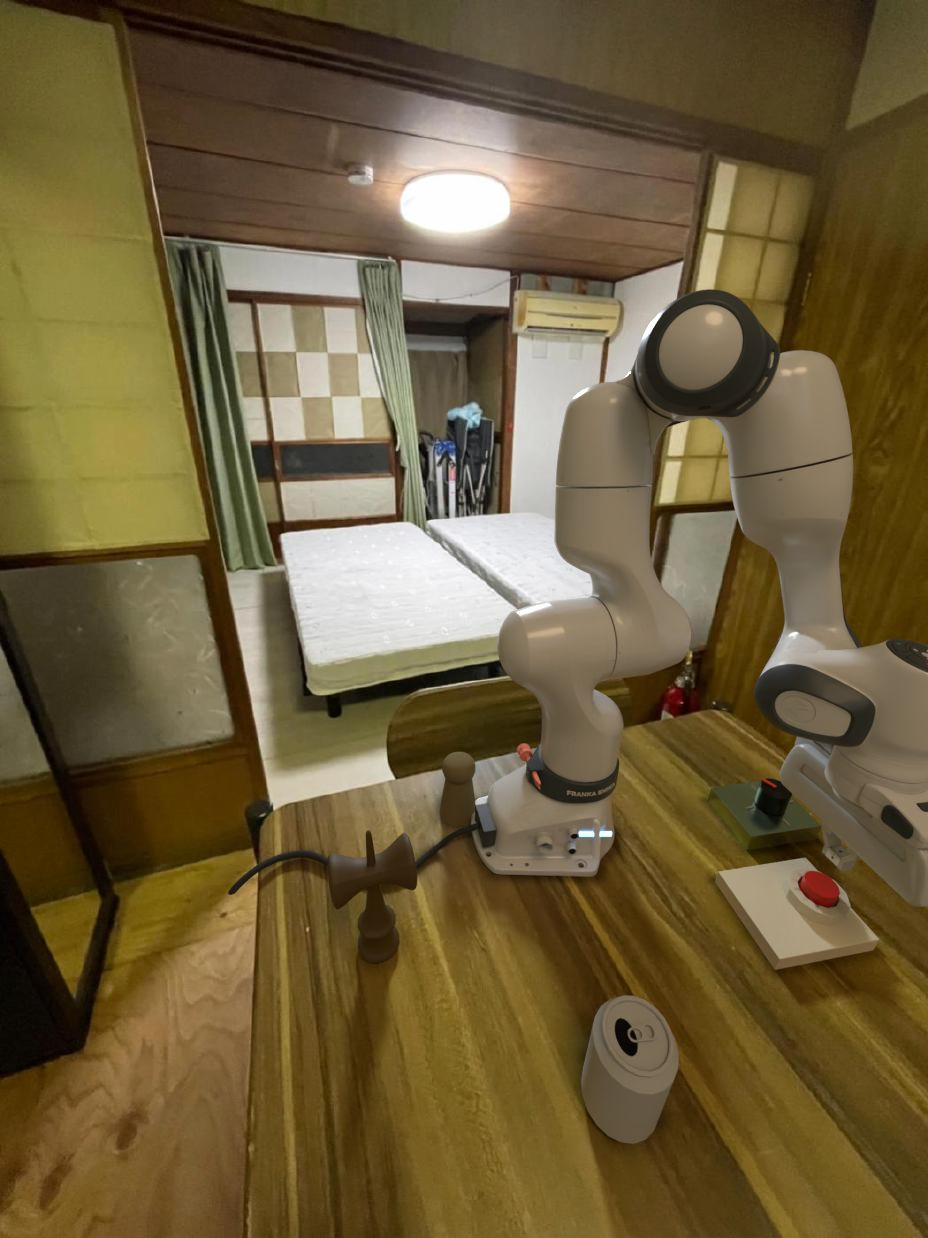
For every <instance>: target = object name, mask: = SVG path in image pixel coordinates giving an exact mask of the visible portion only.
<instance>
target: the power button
mask: <svg viewBox="0 0 928 1238" xmlns="http://www.w3.org/2000/svg"><path fill="white" fill-rule="evenodd" d="M817 871H818V870H817ZM817 871H808V872H806V873H805V874H804V876H803V878H802V881H801V883H800V888H801V891H802V893H803V894H804V895H805V896H806V897H807V898H808V899H809V900H810V901H812V902H813V903H815V904H817V905H819V906H823V907H831V906H833V905H834V904H835V902H836V900H837V899H838V897H839V894H840V890H839V887H838V886H837V884H838V883H837V884H836V883H835V882H834V881H835V880H834V879H833V878H831V877H830V876H829V875H827V874H825V873H823V872H821V871H820V872H817ZM832 879H833V880H834V881H833V880H832Z"/></svg>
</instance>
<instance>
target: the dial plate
mask: <svg viewBox="0 0 928 1238" xmlns="http://www.w3.org/2000/svg"><path fill="white" fill-rule="evenodd" d="M760 782H761V780H759V781H750V782H744V783H735V784H729V785H728V784H727V785H720V786H713V787H712V786H711V788H710V790H709V793H708V797H707V802H708V804H709V805H710V806H711V807H712V809H713V810H714V811H715V813H716V814H717V815H718V816H719V818H720V819H721V820H722V821H723V823H724V824H725V825H726V826H727V828H728V830H730V831H731V833H732V834H733V835H734V837H735V838H736V839H737V841H739V843H740V844H741V845H742V846H743V848H744V849H745V850H746V851H751V850H757V849H764V848H768V847H769V848H770V847H777V846H782V845H788V844H789V845H790V844H795V843H802V842H807V841H814V840H816V839H817V838H818V835H819V832H820V830H821V826H822V824H821V823H820V822H819V821H817V820H816V818H815V817H814V816H813V815H812V814H811V813H810V812H809V811H808V810H806V808H804V807H803V806H802V804H800V802H798V800H796V798H795V797H794V796H793V795H792V796H791V799H790V801H789V804H788V806H787V809H786V811H785V813H784V814H782V815H771V814H768V813H766V812H764V811H763V810H761V809H760V808H759V807H758V806H757V805H756V803H755V796H756V793H757V790H758V787H759V785H760Z"/></svg>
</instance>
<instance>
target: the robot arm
mask: <svg viewBox="0 0 928 1238" xmlns="http://www.w3.org/2000/svg"><path fill="white" fill-rule="evenodd" d="M772 353H773V354H772ZM844 393H845V392H844V389H843V385H842V381H841V378H840V375H839V372H838V370H837V367H836V365H835V362H834V361H833V360H832V359H831V358H830V357H829V356H827V355H826V354H824V353H822V352H818V351H814V350H803V349H798V350H788V351H785V352H781V347H780V345H779V342H777V341H776V339H774V337H773V336H772V335H771V334H770V333H769V332H768V330H767V329H766V328H765V327H764V325H762V323H761V322H760V320H759V319H758V317H757V316H756V314H755V313H754V312H753V310H752V309H751V308H750V306H748V305H747V303H746V302H744V301H743V300H742V299H741V298H739V297H738V296H736V295H735V294H732V293H730V292H728V291H725V290H721V289H715V288H713V289H711V288H710V289H700V290H695V291H691V292H689V293H685V294H684V295H682V296H680V297H677V298H676V299H675V300H673V301H671V302H670V303H669V304H666V306H665V307H664V308H662V310H660V311H659V312H658V313H656V315H655V317H654V318H653V319H652V320H651V321H650V323H649V324H648V326H647V328H646V329H645V331H644V333H643V335H642V337H641V340H640V343H639V346H638V350H637V354H636V357H635V360H634V363H633V365H632V367H631V369H630V371H629V372H628V373H627V374H626V375H625V376H624V377H622V378H620V379H618V380H617V379H616V380H615V381H605V382H598V383H596V384H595V383H594V384H593V385H590V386H587V387H585V388H584V389H581V391H579V392H577V393H576V394H575V395H574V396H573V397H572V398H571V400H570V401H569V403H568V405H567V407H566V410H565V414H564V418H563V422H562V427H561V431H560V432H561V433H560V438H559V445H558V451H557V452H558V453H557V459H556V460H557V462H556V471H555V472H556V473H555V495H554V497H555V500H554V503H555V504H554V533H553V534H554V538H553V539H554V541H553V542H554V546H555V549H556V551H557V552H558V555H559V556H560V557H561V558H562V559H563V560H564V561H565V562H566V563H567V564H568V565H570V566H572V567H574V568H576V569H578V570H580V571H582V572H584V573H585V574H589V577H590V580H591V586H592V590H591V595H590V596H588V597H578V598H567V599H556V600H545V601H541V602H536V603H534V604H530V605H527V606H524V607H522V608H518V609H516V610H513V611H511V612H509V613H508V614H507V615H506V617H505V618H504V620H503V622H502V623H501V625H500V628H499V631H498V635H497V642H496V645H497V646H496V647H497V656H498V660H499V662H500V664H501V667H502V669H503V670H504V672H505V673H506V675H507V676H508V677H509V678H510V679H511V680H512V681H513V682H515V684H517V685H518V686H520V687H522V688H524V689H526V690H527V691H528V692H529V693H531V694H532V695H533V696H534V697H535V699H536V700H537V702H538V704H539V706H540V710H541V735H540V736H541V737H540V743H539V744H538V746H537V747H536V749H535V750H534V752H532V750H531V746H530V745H529V744H528V743H520V744H519V745H518V746H517V748H516V752H517V755H519V759H520V760H521V761H522V762H526V763H525V764H523V765H522V766H520V767H518V768H517V769H515V770H513V771H511V772H509V773H508V774H506V775H505V776H503V777H501V778H499V779H497V780H496V781H495V782H493V783H492V785H491V786H490V787H489V791H488V793H487V795H484V796H481V797H478V798H477V799H475V803H476V805H475V812H474V814H472V815H471V822H470V824H468V825H465V826H463V827H461V828H459V829H458V828H457V829H456V830H453V831H452V832H450V833H449V834H447V835H446V836H444V837H443V838H442V839H441V840H439V842H437V843H436V844H434V845H433V846H432V847H430V848H429V849H428V850H427V851H426V852H425V853H424V854H422V855H421V856H420V857H419V858H418V859H417V860H415V863H416V869H417V870H418V869H419V868H420V867H422V865H423V864H424V863H426V862H427V861H428V860H429V859H430V858H431V857H433V856H434V855H435V854H436V853H438V852H439V851H441V850H442V849H443V848H444V847H445V846H447V845H448V844H449V843H450V842H452V841H453V840H455V839H457V838H459V837H461V836H464V835H467V834H468V833H471V836H472V839H473V844H474V847H475V849H476V853H477V854H478V856H479V858H480V860H481V861H482V863H483V864H484V865H485V866H486V867H487V868H488V870H490V871H491V872H492V873H493V874H495V875H505V876H507V875H509V876H510V875H511V876H543V877H544V876H546V877H547V876H548V877H579V878H580V877H582V878H583V877H584V878H591V877H595V876H596V875H597V874H598V873H599V869H600V864H601V860H602V859H603V858H604V856H605V855H606V854H607V853H608V852H609V851H610V849H611V848H612V846H613V844H614V841H615V835H616V831H615V826H614V819H613V794H614V793H613V792H614V791H615V789H616V787H617V782H618V779H619V778H618V777H619V772H620V759H619V754H620V749H621V744H622V738H623V732H624V727H625V726H624V725H625V724H624V719H623V718H624V717H623V715H622V712H621V710H620V708H619V706H618V705H617V703H616V702H615V701H614V700H612V699H611V698H610V697H609V696H607V695H606V694H604V693H603V692H601V691H599V690H597V689H595V688H596V687H597V685H598V684H599V683H602V682H604V681H611V680H612V681H613V680H618V679H620V680H621V679H625V678H626V679H627V678H633V677H641V676H648V675H652V674H653V673H657V672H660V671H662V670H665V669H667V668H670V667H672V666H676V665H677V664H678V665H679V663H680V662H682V661H683V660H684V659H685V657H686V656H687V654H688V652H689V651H690V647H691V643H692V639H693V638H692V636H693V631H692V630H693V629H692V624H691V623H692V622H691V620H690V617H689V615H688V613H687V611H686V610H685V608H684V607H683V605H681V603H680V602H679V601H678V600H677V599H675V598H674V597H672V596H671V595H670V594H669V593H668V592H667V591H666V590H665V588H664V587H663V586H662V584H661V582H660V580H659V578H658V576H657V574H656V570H655V569H654V564H653V561H652V556H651V555H652V554H651V545H650V530H651V529H650V528H651V527H650V526H651V509H652V507H651V505H652V493H653V492H652V491H653V485H652V484H653V481H654V479H653V478H654V466H655V465H654V464H655V455H656V452H657V451H656V450H657V446H658V443H659V440H660V437H661V435H662V434H663V432H664V430H666V429H667V428H670V427H672V426H676V425H679V424H683V423H685V422H689V421H695V420H701V419H707V420H708V421H709V422H710V421H711V422H712V423H713V424H714V425H715V426H717V428H718V429H719V431H720V433H721V434H722V436H723V439H724V443H725V446H726V449H727V461H728V462H727V463H728V475H729V482H730V489H731V490H730V493H731V498H732V504H733V507H734V512H735V515H736V517H737V521H738V524H739V526H740V529H741V532H742V534H743V535H744V536H745V537H746V538H747V539H748V540H749V541H751V542H752V543H754V544H756V545H757V546H759V547H761V548H763V549H765V550H767V552H769V553H770V554H771V556H772V557H773V558H774V561H775V563H776V566H777V570H778V575H779V576H778V577H779V583H780V589H781V599H782V605H783V607H782V608H783V613H784V625H783V629H782V631H781V633H780V635H779V637H778V639H777V641H776V644H775V646H774V649H773V652H772V654H771V656H770V657H769V659H768V661H767V662H766V664H765V665H764V668H763V669H762V672H761V673H760V675H759V677H758V679H757V680H756V683H755V685H754V690H753V691H754V692H753V697H754V702H755V704H756V706H757V709H758V711H759V712H760V714H761V715H762V716H763V718H764V719H765V720H766V721H767V722H768V723H769V724H770V725H772V726H773V727H775V728H776V729H778V730H779V731H781V732H783V733H786V734H789V735H791V736H795V737H796V738H795V742H794V746H793V747H792V749H790V751H789V753H788V754H787V755H786V758H785V759H784V761H783V763H782V765H781V768H780V770H779V772H778V773H779V774H778V775H779V781H781V783H782V784H783V785H784V786H785V787H786V788H787V789H788V790H789V791H790V792H791V793H792V796H793V797H794V798H795V799H797V800H798V801H799V802H800V803H801V804H803V805H804V806H805V807H806V808H807V809H808V810H809V811H810V812H811V813H812V814H813V815H814V816H815V817H816V818H817V819H818V820H819V821H821V823H822V824H821V828H820V830H821V833H822V838H823V842H824V845H823V848H822V850H821V853H822V854H823V855H824V856H825V857H826V858H827V859H828V860H829V861H830V862H831V863H832V864H833V865H834V866H835V868H837V869H838V871H840V872H841V873H843V872H844V873H845V872H849V871H851V870H852V869H853V868H854V866H855V865H856V862H859V861H863V862H864V863H865V864H866V865H867V866H868V867H869V868H870V869H871V870H872V871H873V872H875V873H876V875H878V876H879V877H880V878H881V879H882V880H883V882H884V883H886V884H887V885H888V886H889V887H890V888H891V889H892V890H894V891H895V892H896V893H897V894H898V895H899V897H901V898H902V899H903V900H904V901H905V902H906V903H907V904H908V905H910V906H913V907H922V908H923V907H928V645H926V644H924V643H921V642H918V641H913V640H908V639H902V638H890V639H887V640H884V641H882V642H880V643H876V644H872V645H866V646H863V644H862V642H861V641H860V639H859V638H858V636H857V634H856V633H855V631H854V629H853V628H852V627H851V625H850V624H849V621H848V619H847V616H846V614H845V608H844V596H843V585H842V574H841V573H842V572H841V562H840V552H841V545H842V540H843V537H844V533H845V530H846V528H847V523H848V519H849V514H850V509H851V502H852V496H853V495H852V494H853V483H854V480H853V479H854V454H853V442H852V440H853V439H852V431H851V424H850V417H849V411H848V406H847V401H846V397H845V394H844ZM842 842H843V843H844V844H845V845H846V846H847V847H846V848H845V847H844V846H843V845H842ZM299 858H305V859H310V860H313V861H316V862H318V863H320V864H322V865H324V866H326V867H327V861H328V857H326V856H324V855H322V854H321V853H317V852H315V851H311V850H305V849H304V850H301V849H300V850H290V851H287V852H282V853H279V854H276V855H273V856H271V857H269V858H267V859H265V860H263V861H261V862H259V863H258V864H256V865H255V866H253V867H252V868H250V869H249V870H248V871H247V872H245V873H244V874H243V875H242V876H241V877H240V878H238V880H236V882H234V883H233V885H232V886H231V887H230V888H229V890H228V892H227V894H228V896H233V895H234V894H236V893H237V892H238V891H239V890H240V889H241V888H242V887H243V886H244V885H245V884H246V883H247V882H248V881H249V880H250V879H252V878H253V877H254V876H255V875H256V874H258V873H260V872H261V871H263V870H265V869H266V868H268V867H270V866H273V865H274V864H278V863H280V862H283V861H286V860H293V859H299Z"/></svg>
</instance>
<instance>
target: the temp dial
mask: <svg viewBox="0 0 928 1238" xmlns="http://www.w3.org/2000/svg"><path fill="white" fill-rule="evenodd" d="M760 781H761V782H760V785H759V787H758V790H757V793H756V796H755V803H756V805H757V806H758V807H759V808H760V809H761V810H763V811H764V812H766V813H768V814H771V815H782V814H784V813H785V811H786V809H787V806H788V804H789V801H790V799H791V796H792V797H793V794H792V793H791V792H790V791H789V790H788V789H787V788H786V787H785V786H784V785H783V784H782V783H781V780H778V779H776V778H769V777H768V778H761V780H760Z"/></svg>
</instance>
